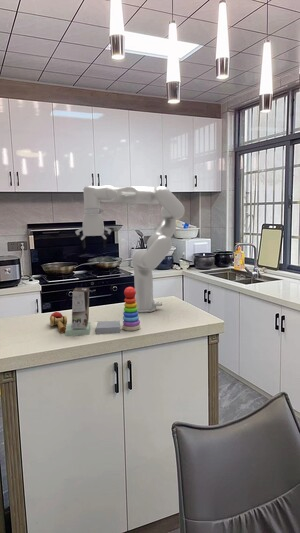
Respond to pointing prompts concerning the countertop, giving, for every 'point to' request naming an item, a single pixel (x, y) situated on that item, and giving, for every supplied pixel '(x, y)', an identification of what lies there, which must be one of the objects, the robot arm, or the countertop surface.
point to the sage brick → (77, 330)
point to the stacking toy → (130, 311)
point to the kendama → (58, 321)
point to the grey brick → (108, 327)
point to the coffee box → (80, 308)
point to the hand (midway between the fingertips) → (94, 247)
